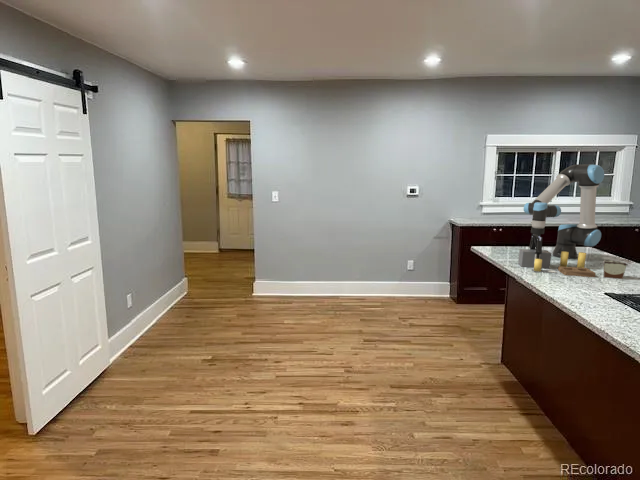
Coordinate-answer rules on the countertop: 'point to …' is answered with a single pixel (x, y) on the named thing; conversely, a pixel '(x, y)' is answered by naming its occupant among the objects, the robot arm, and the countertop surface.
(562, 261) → the peg
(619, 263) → the food container
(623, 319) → the countertop surface
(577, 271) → the socket board
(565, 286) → the countertop surface
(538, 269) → the grey and yellow fixture
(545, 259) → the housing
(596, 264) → the countertop surface
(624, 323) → the countertop surface
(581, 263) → the peg
